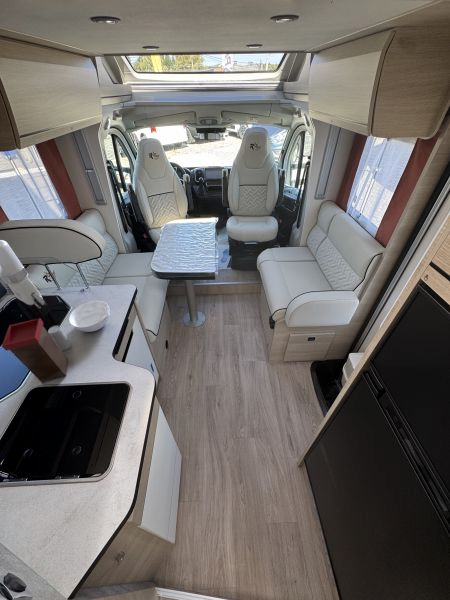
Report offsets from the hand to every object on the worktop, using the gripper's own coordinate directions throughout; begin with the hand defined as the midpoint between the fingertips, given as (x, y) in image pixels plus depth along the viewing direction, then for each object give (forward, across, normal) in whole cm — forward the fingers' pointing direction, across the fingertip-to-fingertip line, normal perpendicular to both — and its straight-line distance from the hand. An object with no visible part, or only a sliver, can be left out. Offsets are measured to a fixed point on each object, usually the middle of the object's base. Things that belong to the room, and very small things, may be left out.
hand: (39, 309), depth 101 cm
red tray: (+1, +8, -10) cm, 13 cm away
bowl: (+24, 0, +16) cm, 29 cm away
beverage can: (+24, 0, 0) cm, 24 cm away
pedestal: (+24, +8, -11) cm, 27 cm away
